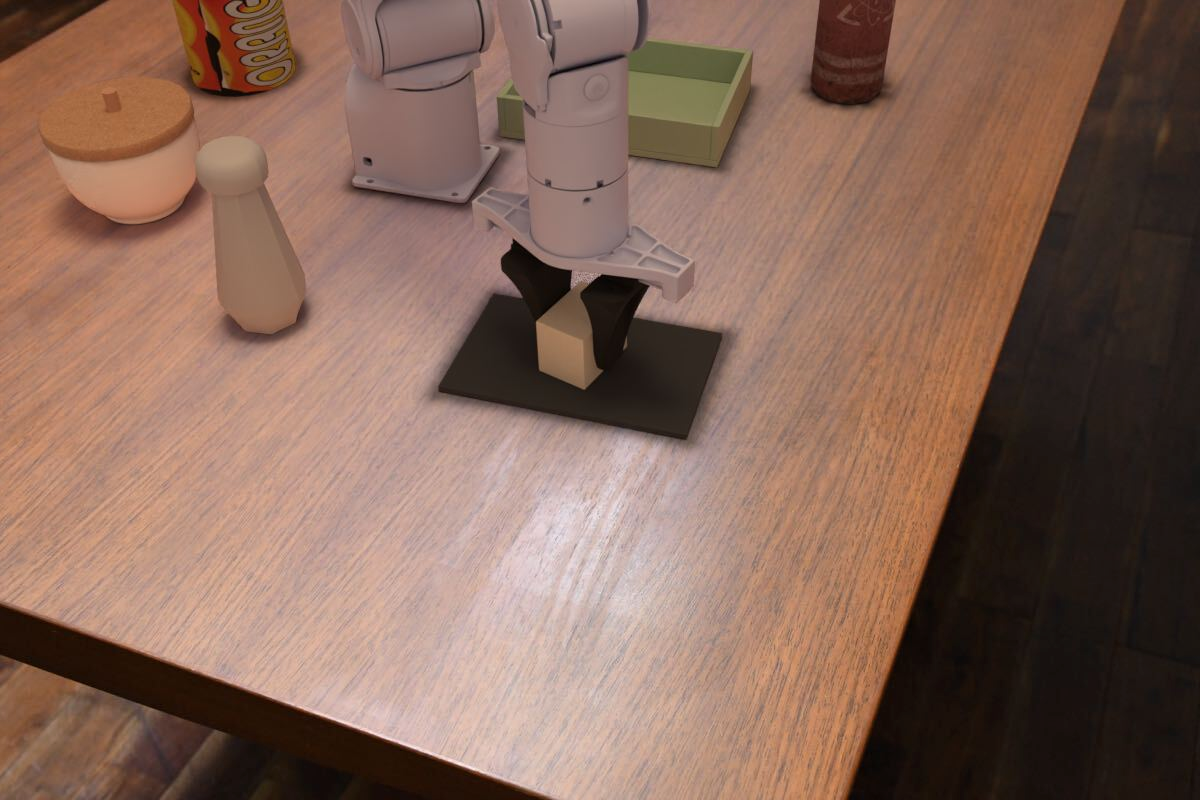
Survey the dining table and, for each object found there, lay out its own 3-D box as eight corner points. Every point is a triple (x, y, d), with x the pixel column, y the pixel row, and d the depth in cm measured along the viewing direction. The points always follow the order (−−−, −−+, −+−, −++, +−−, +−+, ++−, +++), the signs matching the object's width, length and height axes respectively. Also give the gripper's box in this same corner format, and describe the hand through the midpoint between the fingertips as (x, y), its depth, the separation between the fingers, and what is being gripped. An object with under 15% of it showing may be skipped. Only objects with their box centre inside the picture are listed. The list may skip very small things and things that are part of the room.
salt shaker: (237, 353, 79) (189, 182, 70) (215, 305, 83) (166, 137, 74) (323, 325, 81) (287, 156, 72) (298, 280, 85) (260, 114, 76)
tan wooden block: (538, 370, 77) (535, 321, 74) (582, 328, 80) (581, 279, 77) (584, 390, 75) (583, 340, 73) (627, 346, 78) (627, 297, 76)
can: (893, 81, 105) (920, -82, 96) (864, 112, 101) (889, -54, 92) (829, 64, 108) (849, -96, 98) (798, 94, 104) (815, -70, 94)
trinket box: (177, 249, 88) (142, 135, 82) (43, 234, 90) (-2, 121, 83) (238, 171, 96) (210, 61, 89) (114, 159, 97) (78, 50, 91)
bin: (499, 136, 99) (496, 96, 97) (550, 63, 108) (548, 25, 106) (716, 167, 95) (719, 127, 93) (750, 89, 104) (753, 50, 102)
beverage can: (174, 91, 106) (137, -45, 98) (220, 44, 112) (188, -87, 104) (270, 100, 104) (240, -37, 96) (311, 53, 111) (286, -79, 102)
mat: (438, 391, 76) (437, 386, 76) (493, 297, 83) (493, 292, 83) (686, 439, 73) (686, 434, 72) (722, 337, 80) (722, 332, 79)
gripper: (725, 167, 67) (713, 354, 77) (515, 100, 73) (527, 281, 83) (660, 229, 63) (655, 419, 72) (442, 152, 69) (463, 336, 78)
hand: (583, 349), depth 77 cm, fingers closed on tan wooden block, 3 cm apart
